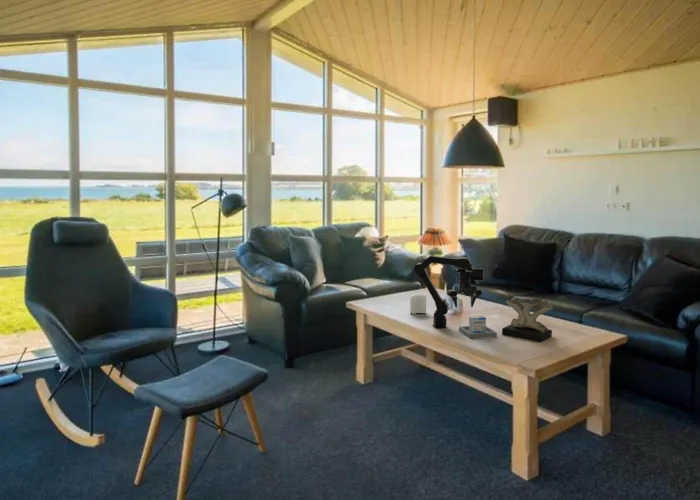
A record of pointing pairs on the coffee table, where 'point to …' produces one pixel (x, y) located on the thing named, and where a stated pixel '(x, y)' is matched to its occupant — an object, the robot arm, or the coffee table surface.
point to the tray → (477, 335)
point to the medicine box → (477, 324)
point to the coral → (528, 320)
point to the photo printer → (418, 303)
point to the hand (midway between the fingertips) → (464, 307)
